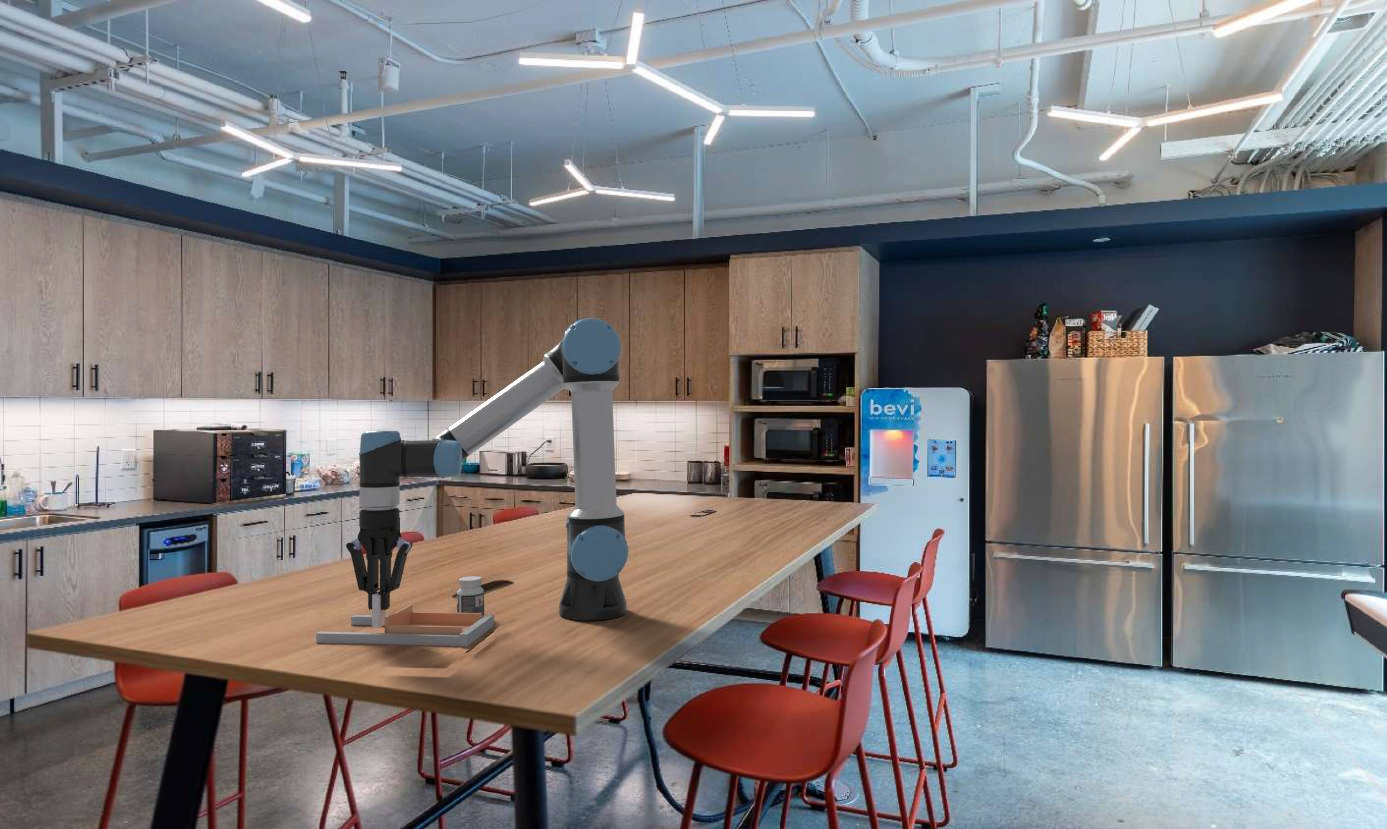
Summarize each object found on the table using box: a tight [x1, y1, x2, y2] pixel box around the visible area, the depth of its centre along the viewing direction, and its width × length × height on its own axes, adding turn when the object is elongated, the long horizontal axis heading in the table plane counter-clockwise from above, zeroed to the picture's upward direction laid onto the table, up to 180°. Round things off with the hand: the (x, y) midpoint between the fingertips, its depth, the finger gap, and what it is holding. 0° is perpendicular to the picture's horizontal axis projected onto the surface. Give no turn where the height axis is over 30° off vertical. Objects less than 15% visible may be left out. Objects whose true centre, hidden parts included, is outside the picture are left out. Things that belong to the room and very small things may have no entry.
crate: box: [384, 604, 482, 635], centre depth 162 cm, size 15×11×4 cm
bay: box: [315, 614, 495, 654], centre depth 163 cm, size 30×15×4 cm, turn 85°
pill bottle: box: [456, 575, 485, 618], centre depth 175 cm, size 6×6×10 cm
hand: (378, 625), depth 163 cm, fingers closed
